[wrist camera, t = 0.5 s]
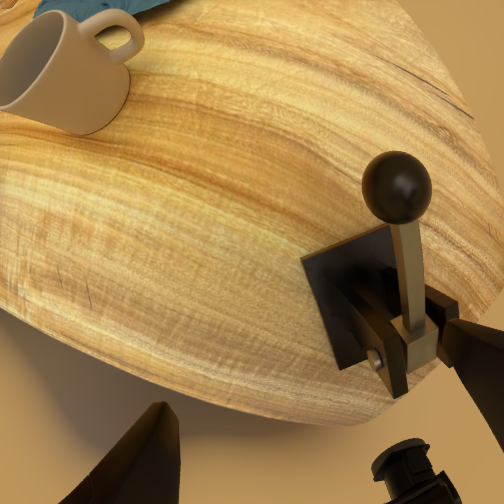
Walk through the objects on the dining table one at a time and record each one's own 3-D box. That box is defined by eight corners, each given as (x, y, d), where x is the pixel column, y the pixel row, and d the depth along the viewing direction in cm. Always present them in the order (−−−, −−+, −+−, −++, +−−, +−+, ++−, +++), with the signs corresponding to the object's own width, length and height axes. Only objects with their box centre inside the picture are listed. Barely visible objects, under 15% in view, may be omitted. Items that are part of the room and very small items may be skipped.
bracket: (299, 257, 23) (328, 300, 12) (394, 219, 22) (474, 231, 11) (336, 364, 24) (370, 443, 14) (418, 326, 24) (481, 381, 13)
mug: (70, 151, 22) (-11, 134, 11) (58, 89, 21) (-9, 58, 10) (175, 88, 21) (122, 22, 10) (151, 29, 20) (106, -35, 9)
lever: (342, 159, 12) (374, 167, 9) (398, 141, 11) (438, 146, 8) (383, 349, 17) (402, 382, 14) (422, 329, 16) (445, 358, 13)
